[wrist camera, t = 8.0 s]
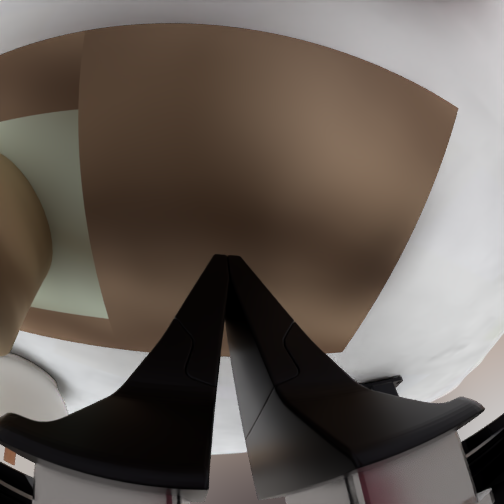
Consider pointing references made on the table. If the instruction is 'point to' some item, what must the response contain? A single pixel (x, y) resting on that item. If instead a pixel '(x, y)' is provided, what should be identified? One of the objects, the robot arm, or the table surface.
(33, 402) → the lidded jar
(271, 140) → the walnut board
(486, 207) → the table surface
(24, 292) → the oak puck
